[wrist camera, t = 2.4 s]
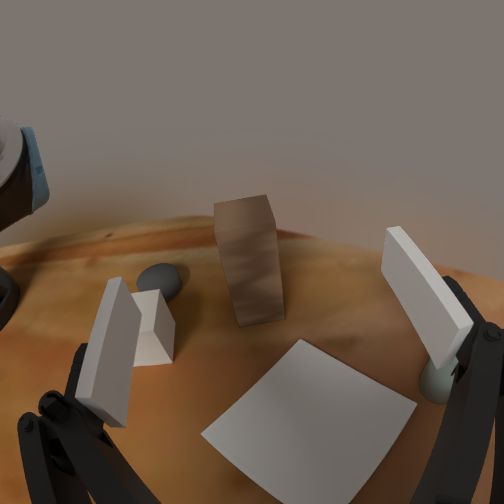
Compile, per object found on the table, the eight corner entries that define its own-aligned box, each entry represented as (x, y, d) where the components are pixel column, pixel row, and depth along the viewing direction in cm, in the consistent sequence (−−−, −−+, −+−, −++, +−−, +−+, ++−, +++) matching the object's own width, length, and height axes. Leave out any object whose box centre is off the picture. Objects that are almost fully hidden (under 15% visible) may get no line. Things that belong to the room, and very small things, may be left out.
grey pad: (201, 435, 20) (200, 433, 20) (300, 341, 27) (300, 338, 26) (323, 530, 13) (324, 530, 13) (415, 406, 19) (417, 403, 19)
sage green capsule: (411, 391, 21) (434, 351, 17) (429, 357, 23) (451, 313, 19) (449, 411, 18) (481, 374, 14) (464, 374, 20) (493, 333, 17)
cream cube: (125, 367, 27) (101, 336, 24) (132, 328, 31) (113, 296, 27) (172, 363, 27) (153, 330, 24) (175, 323, 31) (159, 288, 28)
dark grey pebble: (135, 292, 35) (129, 280, 34) (167, 270, 38) (162, 258, 37) (156, 312, 32) (149, 299, 31) (190, 287, 35) (185, 274, 34)
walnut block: (238, 327, 29) (214, 232, 22) (235, 294, 33) (213, 203, 26) (285, 319, 29) (275, 221, 22) (277, 287, 33) (266, 194, 26)
